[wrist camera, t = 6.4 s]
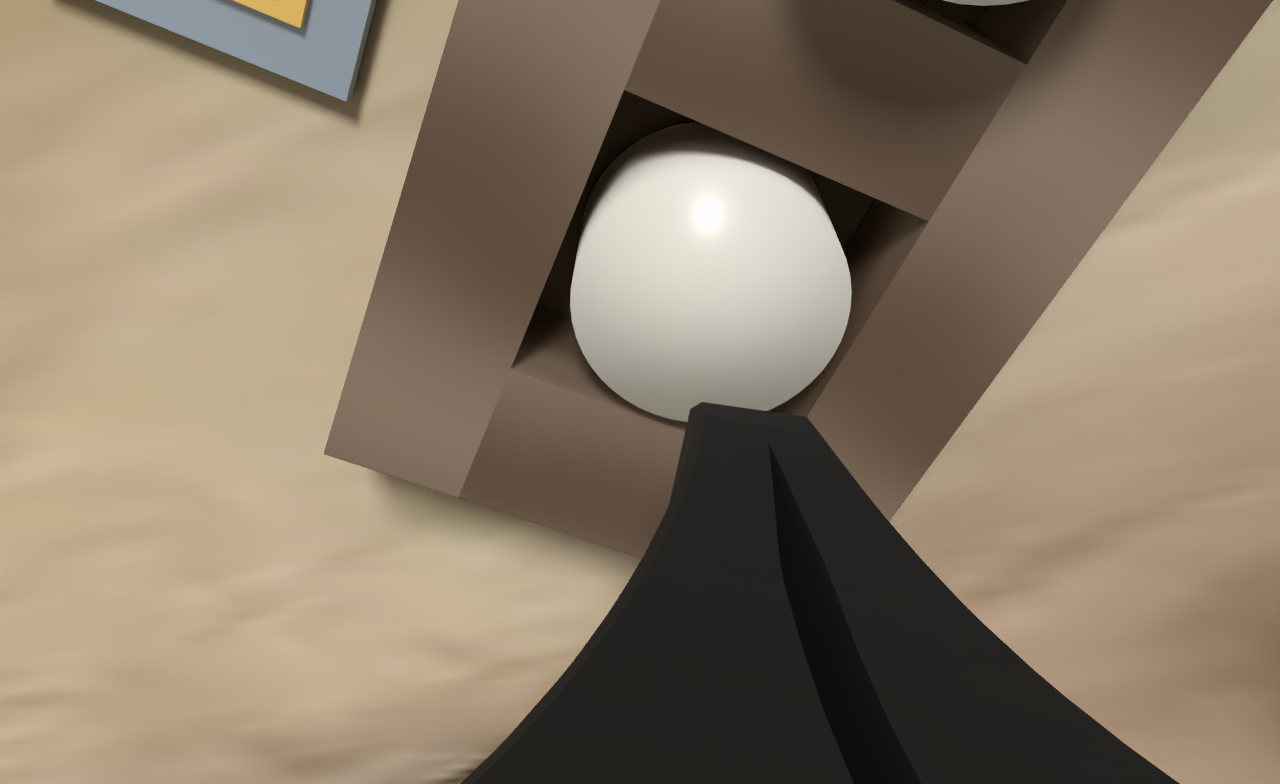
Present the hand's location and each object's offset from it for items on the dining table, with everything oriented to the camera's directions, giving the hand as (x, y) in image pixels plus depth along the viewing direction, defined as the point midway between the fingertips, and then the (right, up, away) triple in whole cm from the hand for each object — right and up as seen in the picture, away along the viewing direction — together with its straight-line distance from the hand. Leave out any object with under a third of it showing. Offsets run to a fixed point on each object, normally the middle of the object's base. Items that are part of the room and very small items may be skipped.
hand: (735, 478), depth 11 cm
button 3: (0, +4, +6) cm, 7 cm away
